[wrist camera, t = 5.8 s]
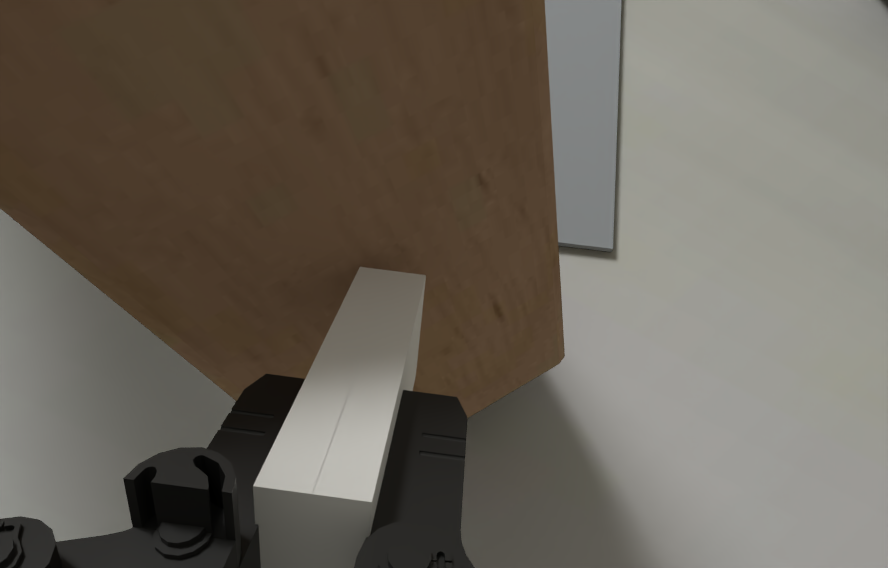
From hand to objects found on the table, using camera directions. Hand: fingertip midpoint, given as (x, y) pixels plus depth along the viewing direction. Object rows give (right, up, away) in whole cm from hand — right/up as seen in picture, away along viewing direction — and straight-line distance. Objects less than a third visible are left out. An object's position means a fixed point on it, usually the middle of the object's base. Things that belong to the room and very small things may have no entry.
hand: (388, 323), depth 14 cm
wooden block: (0, -1, +12) cm, 12 cm away
